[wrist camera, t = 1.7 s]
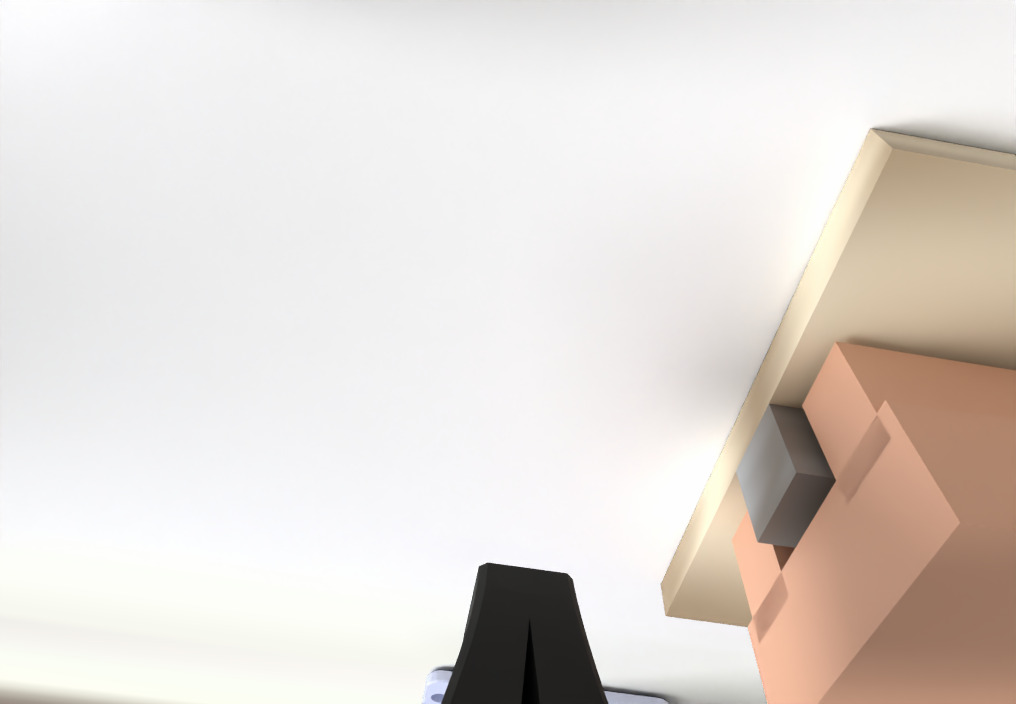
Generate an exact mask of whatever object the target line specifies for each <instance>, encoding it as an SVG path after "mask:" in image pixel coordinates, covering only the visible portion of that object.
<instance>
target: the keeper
mask: <svg viewBox="0 0 1016 704" xmlns="http://www.w3.org/2000/svg"><path fill="white" fill-rule="evenodd" d="M802 407H803V409H804V411H805V413H806V415H807V418H808V420H809V422H810V424H811V426H812V429H813V431H814V433H815V435H816V437H817V440H818V442H819V444H820V446H821V448H822V451H823V453H824V455H825V457H826V459H827V462H828V464H829V466H830V468H831V470H832V473H833V475H834V477H835V479H836V482H835V484H834V485H833V487H832V488H831V490H830V492H829V493H828V495H827V497H826V498H825V500H824V502H823V503H822V505H821V507H820V508H819V510H818V512H817V513H816V515H815V517H814V518H813V520H812V521H811V523H810V525H809V526H808V528H807V530H806V531H805V533H804V535H803V536H802V538H801V540H800V541H799V543H798V545H797V546H796V548H793V547H786V546H779V545H772V544H765V543H758V542H757V539H756V536H755V532H754V529H753V526H752V523H751V519H750V516H749V513H748V510H747V512H746V514H745V516H744V517H743V519H742V521H741V523H740V525H739V527H738V529H737V531H736V533H735V535H734V537H733V539H732V543H733V547H734V551H735V555H736V558H737V562H738V566H739V570H740V573H741V577H742V581H743V584H744V588H745V592H746V596H747V599H748V603H749V607H750V611H751V614H752V618H753V619H752V620H751V622H750V624H749V625H748V630H749V634H750V638H751V642H752V645H753V649H754V653H755V657H756V661H757V665H758V669H759V673H760V676H761V680H762V684H763V688H764V692H765V696H766V700H767V703H768V704H1016V370H1009V369H1003V368H997V367H991V366H984V365H978V364H972V363H966V362H959V361H953V360H947V359H941V358H935V357H928V356H922V355H916V354H910V353H903V352H897V351H891V350H885V349H879V348H872V347H866V346H860V345H854V344H847V343H841V342H835V343H834V345H833V347H832V349H831V351H830V353H829V355H828V357H827V358H826V360H825V362H824V364H823V366H822V368H821V370H820V372H819V374H818V376H817V378H816V380H815V381H814V383H813V385H812V387H811V389H810V391H809V393H808V395H807V397H806V399H805V401H804V403H803V404H802Z"/></svg>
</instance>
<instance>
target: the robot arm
mask: <svg viewBox="0 0 1016 704" xmlns="http://www.w3.org/2000/svg"><path fill="white" fill-rule="evenodd" d="M422 704H669V703H668V702H667V701H665V700H664V699H661V698H656V697H648V696H640V695H632V694H624V693H617V692H609V691H604V690H603V687H602V684H601V681H600V678H599V675H598V672H597V669H596V665H595V662H594V659H593V656H592V652H591V649H590V646H589V643H588V639H587V636H586V632H585V629H584V625H583V622H582V618H581V614H580V610H579V606H578V602H577V598H576V593H575V589H574V584H573V579H572V578H571V577H570V576H569V575H568V574H567V573H560V572H552V571H545V570H538V569H530V568H523V567H516V566H508V565H501V564H494V563H486V564H483V565H481V566H479V569H478V573H477V578H476V582H475V587H474V592H473V596H472V601H471V605H470V610H469V615H468V619H467V624H466V628H465V633H464V639H463V643H462V647H461V650H460V653H459V656H458V658H457V661H456V664H455V667H454V669H453V672H452V671H445V670H437V671H433V672H432V673H430V674H428V676H427V678H426V684H425V690H424V695H423V701H422Z"/></svg>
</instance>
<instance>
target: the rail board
mask: <svg viewBox="0 0 1016 704" xmlns="http://www.w3.org/2000/svg"><path fill="white" fill-rule="evenodd" d="M835 342H841V343H847V344H854V345H860V346H866V347H872V348H879V349H885V350H891V351H897V352H903V353H910V354H916V355H922V356H928V357H935V358H941V359H947V360H953V361H959V362H966V363H972V364H978V365H984V366H991V367H997V368H1003V369H1009V370H1016V155H1015V154H1009V153H1004V152H998V151H992V150H987V149H981V148H976V147H970V146H965V145H959V144H953V143H948V142H942V141H937V140H931V139H926V138H920V137H914V136H909V135H903V134H898V133H892V132H887V131H881V130H875V129H870V130H869V132H868V135H867V137H866V139H865V141H864V143H863V146H862V148H861V150H860V152H859V154H858V156H857V159H856V161H855V163H854V165H853V167H852V169H851V172H850V174H849V176H848V178H847V180H846V183H845V185H844V187H843V189H842V191H841V193H840V196H839V198H838V200H837V202H836V204H835V206H834V209H833V211H832V213H831V215H830V217H829V220H828V222H827V224H826V226H825V228H824V230H823V233H822V235H821V237H820V239H819V241H818V243H817V246H816V248H815V250H814V252H813V254H812V257H811V259H810V261H809V263H808V265H807V267H806V270H805V272H804V274H803V276H802V278H801V280H800V283H799V285H798V287H797V289H796V291H795V294H794V296H793V298H792V300H791V302H790V304H789V307H788V309H787V311H786V313H785V315H784V317H783V320H782V322H781V324H780V326H779V328H778V331H777V333H776V335H775V337H774V339H773V341H772V344H771V346H770V348H769V350H768V352H767V354H766V357H765V359H764V361H763V363H762V365H761V367H760V370H759V372H758V374H757V376H756V378H755V381H754V383H753V385H752V387H751V389H750V391H749V394H748V396H747V398H746V400H745V402H744V404H743V407H742V409H741V411H740V413H739V415H738V418H737V420H736V422H735V424H734V426H733V428H732V431H731V433H730V435H729V437H728V439H727V441H726V444H725V446H724V448H723V450H722V452H721V455H720V457H719V459H718V461H717V463H716V465H715V468H714V470H713V472H712V474H711V476H710V478H709V481H708V483H707V485H706V487H705V489H704V492H703V494H702V496H701V498H700V500H699V502H698V505H697V507H696V509H695V511H694V513H693V515H692V518H691V520H690V522H689V524H688V526H687V529H686V531H685V533H684V535H683V537H682V539H681V542H680V544H679V546H678V548H677V550H676V552H675V555H674V557H673V559H672V561H671V563H670V566H669V568H668V570H667V572H666V574H665V576H664V579H663V581H662V583H661V589H662V596H663V602H664V608H665V615H666V616H670V617H677V618H684V619H692V620H699V621H707V622H714V623H721V624H729V625H736V626H744V627H748V625H749V624H750V622H751V620H752V619H753V618H752V614H751V611H750V607H749V603H748V599H747V596H746V592H745V588H744V584H743V581H742V577H741V573H740V570H739V566H738V562H737V558H736V555H735V551H734V547H733V543H732V539H733V537H734V535H735V533H736V531H737V529H738V527H739V525H740V523H741V521H742V519H743V517H744V516H745V514H746V512H747V510H748V513H749V516H750V519H751V523H752V526H753V529H754V532H755V536H756V539H757V542H758V543H765V544H772V545H779V546H786V547H793V548H796V546H797V545H798V543H799V541H800V540H801V538H802V536H803V535H804V533H805V531H806V530H807V528H808V526H809V525H810V523H811V521H812V520H813V518H814V517H815V515H816V513H817V512H818V510H819V508H820V507H821V505H822V503H823V502H824V500H825V498H826V497H827V495H828V493H829V492H830V490H831V488H832V487H833V485H834V484H835V482H836V479H835V477H834V475H833V473H832V470H831V468H830V466H829V464H828V462H827V459H826V457H825V455H824V453H823V451H822V448H821V446H820V444H819V442H818V440H817V437H816V435H815V433H814V431H813V429H812V426H811V424H810V422H809V420H808V418H807V415H806V413H805V411H804V409H803V407H802V404H803V403H804V401H805V399H806V397H807V395H808V393H809V391H810V389H811V387H812V385H813V383H814V381H815V380H816V378H817V376H818V374H819V372H820V370H821V368H822V366H823V364H824V362H825V360H826V358H827V357H828V355H829V353H830V351H831V349H832V347H833V345H834V343H835Z"/></svg>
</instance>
